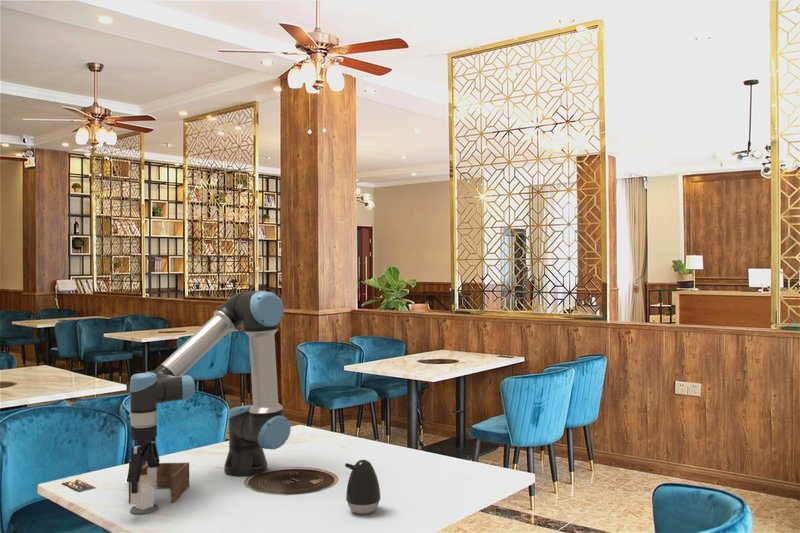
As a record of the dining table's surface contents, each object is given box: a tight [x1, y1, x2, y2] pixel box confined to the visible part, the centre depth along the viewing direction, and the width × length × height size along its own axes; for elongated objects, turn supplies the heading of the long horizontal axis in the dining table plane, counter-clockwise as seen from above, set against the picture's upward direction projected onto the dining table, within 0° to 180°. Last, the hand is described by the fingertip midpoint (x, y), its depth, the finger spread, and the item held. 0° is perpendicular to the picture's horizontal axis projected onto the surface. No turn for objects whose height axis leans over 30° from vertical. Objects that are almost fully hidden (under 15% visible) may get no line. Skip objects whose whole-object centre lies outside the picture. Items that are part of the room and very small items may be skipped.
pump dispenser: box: [344, 459, 381, 515], centre depth 202 cm, size 10×10×15 cm
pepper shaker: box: [134, 475, 155, 510], centre depth 205 cm, size 4×4×10 cm
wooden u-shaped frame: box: [128, 462, 190, 505], centre depth 219 cm, size 14×16×8 cm
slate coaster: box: [129, 503, 159, 516], centre depth 205 cm, size 8×8×1 cm
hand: (144, 495), depth 205 cm, fingers open, 13 cm apart
